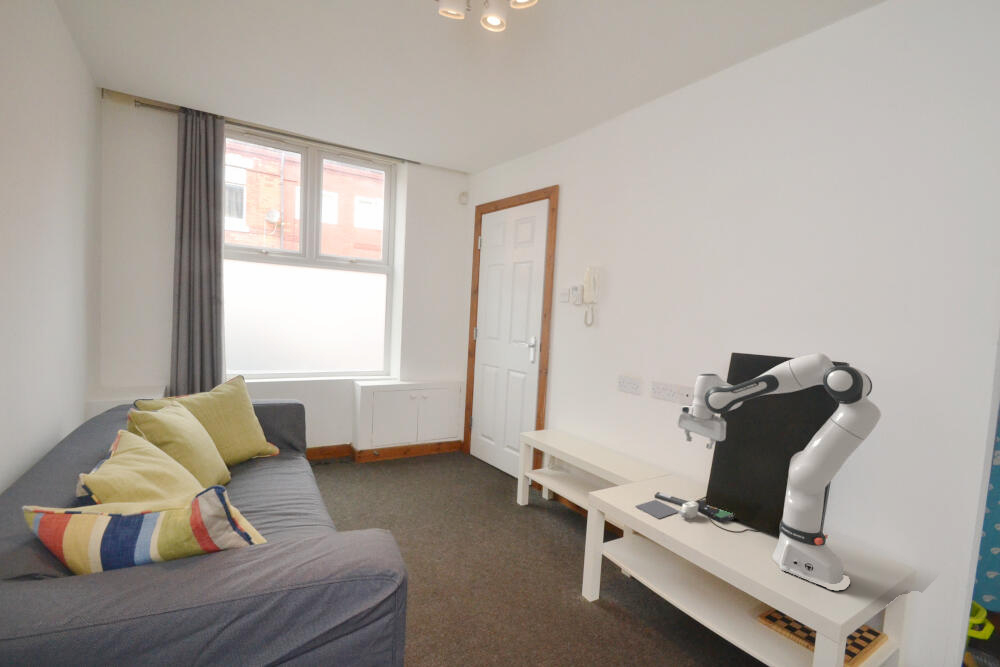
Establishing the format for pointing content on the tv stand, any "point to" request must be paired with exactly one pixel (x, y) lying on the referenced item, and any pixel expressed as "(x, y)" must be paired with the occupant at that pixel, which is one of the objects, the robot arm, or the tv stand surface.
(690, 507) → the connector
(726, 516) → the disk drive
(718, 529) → the tv stand surface
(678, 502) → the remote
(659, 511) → the mat
